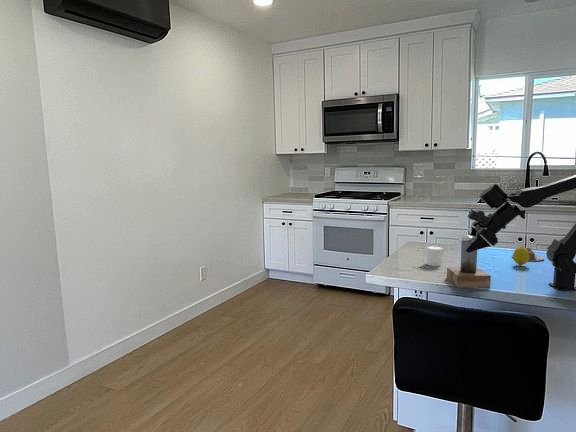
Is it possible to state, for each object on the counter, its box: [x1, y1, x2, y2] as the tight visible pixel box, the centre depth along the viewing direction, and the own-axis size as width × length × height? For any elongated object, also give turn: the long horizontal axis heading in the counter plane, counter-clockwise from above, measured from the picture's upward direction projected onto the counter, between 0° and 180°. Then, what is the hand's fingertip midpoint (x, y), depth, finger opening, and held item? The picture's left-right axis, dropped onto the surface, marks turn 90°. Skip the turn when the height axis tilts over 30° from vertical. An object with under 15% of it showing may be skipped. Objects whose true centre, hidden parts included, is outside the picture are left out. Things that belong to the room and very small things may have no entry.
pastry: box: [511, 247, 545, 262], centre depth 180 cm, size 12×12×5 cm
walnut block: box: [446, 266, 492, 288], centre depth 148 cm, size 11×11×4 cm
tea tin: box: [459, 234, 478, 273], centre depth 147 cm, size 5×5×12 cm
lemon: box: [512, 245, 529, 267], centre depth 168 cm, size 6×6×8 cm
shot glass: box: [425, 245, 444, 267], centre depth 173 cm, size 7×7×7 cm
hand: (464, 248), depth 147 cm, fingers open, 9 cm apart
